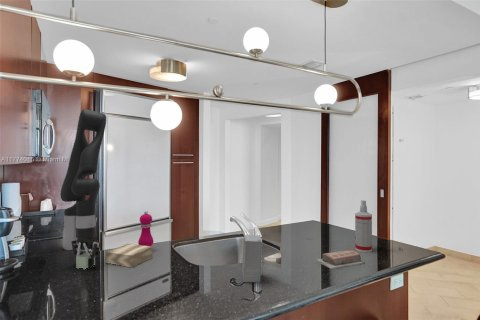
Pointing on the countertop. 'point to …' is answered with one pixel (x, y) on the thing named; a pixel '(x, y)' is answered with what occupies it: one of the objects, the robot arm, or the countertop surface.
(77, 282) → the countertop surface
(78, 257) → the cube
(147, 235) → the pepper mill
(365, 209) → the spray bottle
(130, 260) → the pedestal
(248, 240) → the skincare box
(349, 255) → the soap bar on dish
